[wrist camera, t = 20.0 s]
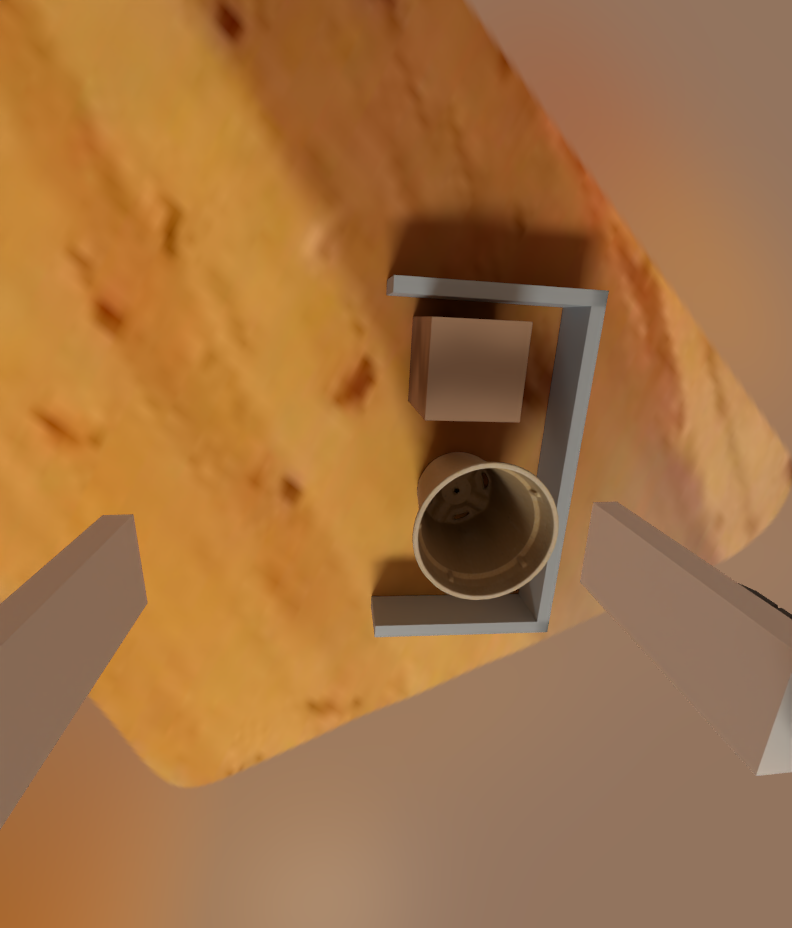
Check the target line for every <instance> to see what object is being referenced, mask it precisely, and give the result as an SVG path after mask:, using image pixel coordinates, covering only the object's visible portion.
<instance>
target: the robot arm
mask: <svg viewBox="0 0 792 928" xmlns="http://www.w3.org/2000/svg"><path fill="white" fill-rule="evenodd" d="M580 582H581V584H582V585H583V586H584V587H585V588H586V589H587V590H588V591H589V592H590V593H591V595H592V596H593V597H594V598H595V599H596V600H597V601H598V602H599V603H600V605H601V606H602V607H603V608H604V609H605V610H606V611H607V612H608V613H609V614H610V615H611V617H612V618H613V619H614V620H615V621H616V622H617V623H618V624H619V625H620V627H621V628H622V629H623V630H624V631H625V632H626V633H627V634H628V635H629V636H630V637H631V639H632V640H633V641H634V642H635V643H636V644H637V645H638V646H639V648H641V650H642V651H643V652H644V653H645V654H646V655H647V656H648V657H649V658H650V660H651V661H652V662H653V663H654V664H655V665H656V666H657V667H658V668H659V670H660V671H661V672H662V673H663V674H664V675H665V676H666V677H667V678H668V679H669V681H671V683H672V684H673V685H674V686H675V687H676V688H677V689H678V690H679V692H680V693H681V694H682V695H683V696H684V697H685V698H686V699H687V700H688V702H690V704H691V705H692V706H693V707H694V708H695V709H696V710H697V712H699V714H700V715H701V716H702V717H703V718H704V719H705V720H706V721H707V722H708V724H709V725H710V726H711V727H712V728H713V729H714V730H715V731H716V732H717V734H718V735H720V737H721V738H722V739H723V740H724V741H725V742H726V743H727V745H728V746H729V747H730V748H731V749H732V750H733V751H734V752H735V753H736V755H737V756H738V757H739V758H740V759H741V760H742V761H743V762H744V763H745V764H746V766H747V767H748V768H749V769H750V770H751V771H752V772H753V773H754V774H755V775H756V776H759V775H769V774H777V773H787V772H792V614H790V613H788V612H787V611H785V610H784V609H782V608H778V606H777V605H776V604H775V603H773V602H772V601H770V600H769V599H767V598H766V597H764V596H763V595H761V594H760V593H758V592H757V591H754V590H752V589H750V588H748V587H746V586H743V585H741V584H739V583H737V582H735V581H734V580H732V579H731V578H729V577H728V576H726V575H725V574H723V573H722V572H720V571H719V570H718V569H716V568H715V567H713V566H712V565H710V564H709V563H707V562H706V561H704V560H703V559H701V558H700V557H698V556H697V555H695V554H694V553H692V552H691V551H689V550H688V549H686V548H685V547H683V546H682V545H680V544H679V543H677V542H676V541H674V540H673V539H671V538H670V537H668V536H667V535H666V534H664V533H663V532H661V531H660V530H658V529H657V528H655V527H654V526H652V525H651V524H649V523H648V522H646V521H645V520H643V519H642V518H640V517H639V516H637V515H636V514H634V513H633V512H631V511H630V510H628V509H627V508H625V507H624V506H622V505H621V504H619V503H618V502H593V507H592V513H591V519H590V526H589V532H588V538H587V544H586V550H585V556H584V562H583V568H582V574H581V580H580ZM146 604H147V597H146V591H145V584H144V578H143V572H142V566H141V560H140V553H139V547H138V541H137V535H136V528H135V522H134V516H133V514H132V515H102V516H101V517H100V518H99V519H98V520H97V521H96V522H94V523H93V524H92V525H91V526H90V527H89V528H87V529H86V530H85V531H84V532H83V533H82V534H81V535H79V536H78V537H77V538H76V539H75V540H74V541H72V542H71V543H70V544H69V545H68V546H67V547H66V548H64V549H63V550H62V551H61V552H60V553H59V554H57V555H56V556H55V557H54V558H53V559H52V560H51V561H49V562H48V563H47V564H46V565H45V566H44V567H43V568H41V569H40V570H39V571H38V572H37V573H36V574H34V575H33V576H32V577H31V578H30V579H29V580H28V581H26V582H25V583H24V584H23V585H22V586H21V587H19V588H18V589H17V590H16V591H15V592H14V593H13V594H11V595H10V596H9V597H8V598H7V599H6V600H4V601H3V602H2V603H1V604H0V829H1V827H2V826H3V824H4V823H5V821H6V820H7V818H8V817H9V815H10V814H11V812H12V811H13V809H14V807H15V806H16V804H17V803H18V801H19V800H20V798H21V797H22V795H23V794H24V792H25V790H26V789H27V787H28V786H29V784H30V783H31V781H32V780H33V778H34V777H35V775H36V774H37V772H38V770H39V769H40V768H41V766H42V764H43V763H44V761H45V760H46V758H47V757H48V755H49V754H50V752H51V751H52V749H53V748H54V746H55V744H56V743H57V741H58V740H59V738H60V737H61V735H62V734H63V732H64V731H65V729H66V728H67V726H68V724H69V723H70V721H71V720H72V718H73V717H74V715H75V714H76V712H77V711H78V709H79V707H80V706H81V704H82V703H83V701H84V700H85V698H86V697H87V695H88V694H89V692H90V691H91V689H92V688H93V686H94V684H95V683H96V681H97V680H98V678H99V677H100V675H101V674H102V672H103V671H104V669H105V668H106V666H107V664H108V663H109V661H110V660H111V658H112V657H113V655H114V654H115V652H116V651H117V649H118V648H119V646H120V644H121V643H122V641H123V640H124V638H125V637H126V635H127V634H128V632H129V631H130V629H131V628H132V626H133V624H134V623H135V621H136V620H137V618H138V617H139V615H140V614H141V612H142V611H143V609H144V608H145V606H146Z"/></svg>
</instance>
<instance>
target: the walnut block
mask: <svg viewBox="0 0 792 928" xmlns="http://www.w3.org/2000/svg"><path fill="white" fill-rule="evenodd" d="M532 323H533V322H526V321H507V320H488V319H469V318H450V317H413V326H412V343H411V361H410V378H409V396H408V401H409V402H410V403H411V405H412V406H413V407H414V408H415V409H416V410H417V412H418V413H419V414H420V415H421V416H422V417H423V419H424V420H436V421H479V422H520V416H521V409H522V401H523V393H524V385H525V378H526V370H527V362H528V354H529V347H530V339H531V331H532Z"/></svg>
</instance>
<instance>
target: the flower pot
mask: <svg viewBox="0 0 792 928" xmlns="http://www.w3.org/2000/svg"><path fill="white" fill-rule="evenodd" d="M483 473H485V474H486V476H487V477H488V486H487V488H484V483H483V478H482V474H483ZM456 488H458V489H459V492H458V493H455V492H454V490H455V489H456ZM417 495H418V504H419V511H418V513H417V516H416V519H415V523H414V528H413V549H414V553H415V557H416V560H417V563H418V565H419V567H420V569H421V570H422V572H423V574H424V575H425V576H426V577H427V578H428V579H429V580H430V581H431V582H432V583H433V584H434V585H435V586H436V587H437V588H439V589H440V590H441V591H443V592H445V593H447V594H450V595H452V596H455V597H459V598H463V599H469V600H482V599H491V598H496V597H500V596H503V595H506V594H508V593H510V592H513V591H515V590H517V589H519V588H520V587H522V586H524V585H525V584H526V583H528V582H529V581H531V580H532V579H533V578H534V577H535V576H536V575H537V574H538V573H539V572H540V571H541V570H542V569H543V567H544V566H545V564H546V563H547V561H548V560H549V558H550V556H551V554H552V552H553V550H554V548H555V545H556V541H557V537H558V531H559V530H558V529H559V520H558V519H559V518H558V517H559V516H558V512H557V508H556V505H555V502H554V499H553V497H552V495H551V493H550V492H549V490H548V489H547V487H546V486H545V485H544V484H543V483H542V482H541V481H540V480H539V479H538V478H537V477H536V476H535V475H533V474H532V473H531V472H529V471H527V470H525V469H523V468H521V467H519V466H516V465H512V464H508V463H502V462H487V461H485V460H483V459H481V458H479V457H478V456H475V455H473V454H470V453H466V452H452V453H448V454H445V455H442V456H440V457H438V458H436V459H435V460H433V461H432V462H431V463H430V464H429V465H428V466H427V468H426V469H425V471H424V472H423V474H422V475H421V477H420V479H419V483H418V488H417ZM430 501H432V502H431V503H430ZM465 512H468V513H469V514H468V515H466V516H465V517H462V518H459V519H454V516H455V515H456V514H462V513H465Z"/></svg>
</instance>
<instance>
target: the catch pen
mask: <svg viewBox="0 0 792 928" xmlns="http://www.w3.org/2000/svg"><path fill="white" fill-rule="evenodd" d="M608 292H609V291H604V290H590V289H577V288H564V287H550V286H537V285H523V284H510V283H496V282H483V281H470V280H456V279H443V278H429V277H416V276H402V275H393V276H392V277H391V278H389V279H388V280H387V295H390V296H405V297H419V298H434V299H449V300H463V301H478V302H492V303H507V304H522V305H536V306H551V307H563V311H562V318H561V324H560V331H559V337H558V344H557V350H556V356H555V363H554V369H553V376H552V382H551V389H550V395H549V402H548V408H547V414H546V421H545V427H544V434H543V440H542V447H541V453H540V459H539V466H538V472H537V478H538V479H539V480H540V481H541V482H542V483H543V484H544V485H545V486H546V487H547V489H548V490H549V492H550V493H551V495H552V497H553V499H554V502H555V505H556V508H557V512H558V516H559V517H558V518H559V519H558V520H559V529H558V530H559V531H558V537H557V541H556V545H555V548H554V550H553V552H552V554H551V556H550V558H549V560H548V561H547V563H546V564H545V566H544V567H543V569H542V570H541V571H540V572H539V573H538V574H537V575H536V576H535V577H534V578H533V579H532V580H531V581H529V582H528V583H526V584H525V585H524V586H522V587H520V588H519V594H506V595H503V596H500V597H496V598H491V599H482V600H469V599H463V598H459V597H455V596H452V595H420V596H372V598H371V610H372V618H373V627H374V635H375V637H396V636H430V635H463V634H497V633H530V632H547V630H548V624H549V618H550V613H551V607H552V602H553V596H554V591H555V585H556V580H557V574H558V569H559V563H560V558H561V552H562V547H563V541H564V535H565V530H566V524H567V519H568V513H569V508H570V502H571V497H572V491H573V486H574V480H575V475H576V469H577V463H578V458H579V452H580V447H581V441H582V436H583V430H584V425H585V419H586V414H587V408H588V403H589V397H590V392H591V386H592V380H593V375H594V369H595V364H596V358H597V353H598V347H599V342H600V336H601V331H602V325H603V320H604V314H605V309H606V303H607V297H608Z"/></svg>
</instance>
